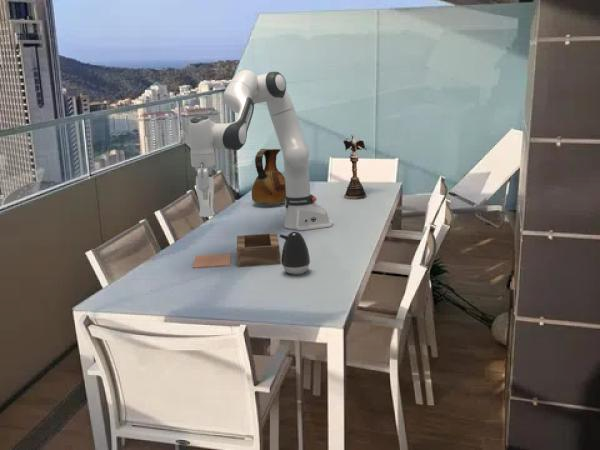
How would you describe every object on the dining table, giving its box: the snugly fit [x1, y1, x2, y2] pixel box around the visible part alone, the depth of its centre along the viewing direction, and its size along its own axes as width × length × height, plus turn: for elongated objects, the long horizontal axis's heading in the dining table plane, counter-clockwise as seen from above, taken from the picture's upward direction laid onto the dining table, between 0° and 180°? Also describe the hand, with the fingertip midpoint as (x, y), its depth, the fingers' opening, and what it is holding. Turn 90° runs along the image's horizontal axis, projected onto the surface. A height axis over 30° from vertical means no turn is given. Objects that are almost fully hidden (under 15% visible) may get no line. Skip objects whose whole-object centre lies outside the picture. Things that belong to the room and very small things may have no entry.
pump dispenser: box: [279, 230, 311, 276], centre depth 221 cm, size 10×10×15 cm
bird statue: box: [342, 133, 368, 200], centre depth 334 cm, size 17×13×35 cm
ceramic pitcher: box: [251, 148, 286, 206], centre depth 326 cm, size 20×20×30 cm
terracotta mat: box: [192, 253, 231, 269], centre depth 240 cm, size 14×14×1 cm
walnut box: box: [236, 232, 281, 268], centre depth 240 cm, size 18×16×7 cm
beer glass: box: [195, 174, 216, 218], centre depth 233 cm, size 7×7×15 cm
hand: (206, 197), depth 234 cm, fingers closed on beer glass, 6 cm apart
